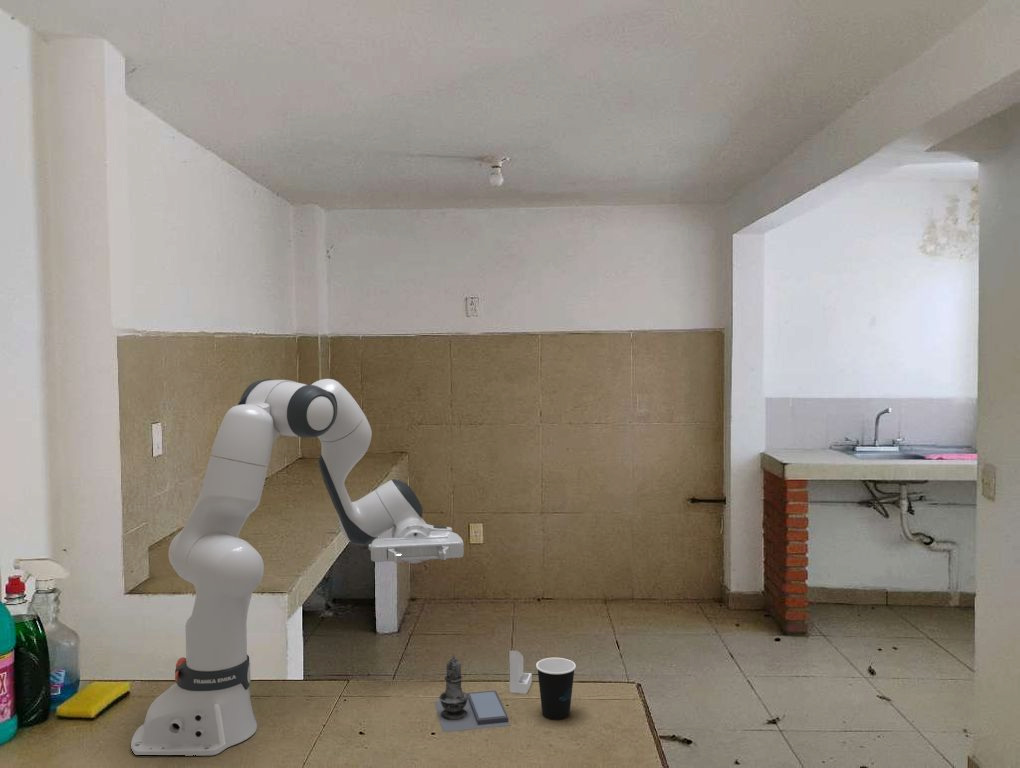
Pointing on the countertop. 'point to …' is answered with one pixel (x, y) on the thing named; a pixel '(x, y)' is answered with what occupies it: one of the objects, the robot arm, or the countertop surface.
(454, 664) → the stone finial ornament
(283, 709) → the countertop surface
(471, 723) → the mat
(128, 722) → the countertop surface
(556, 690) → the dixie cup
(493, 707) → the phone
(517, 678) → the white angled block
